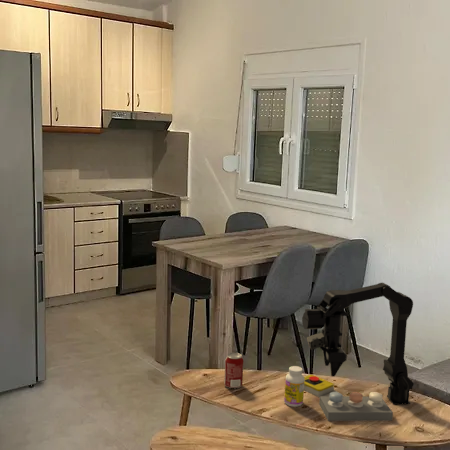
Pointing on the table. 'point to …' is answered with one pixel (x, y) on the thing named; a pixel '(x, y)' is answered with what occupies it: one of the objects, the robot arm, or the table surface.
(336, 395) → the slate button
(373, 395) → the cream button
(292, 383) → the supplement bottle
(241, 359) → the soda can
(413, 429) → the table surface
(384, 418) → the console
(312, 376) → the emergency button
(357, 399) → the terracotta button
